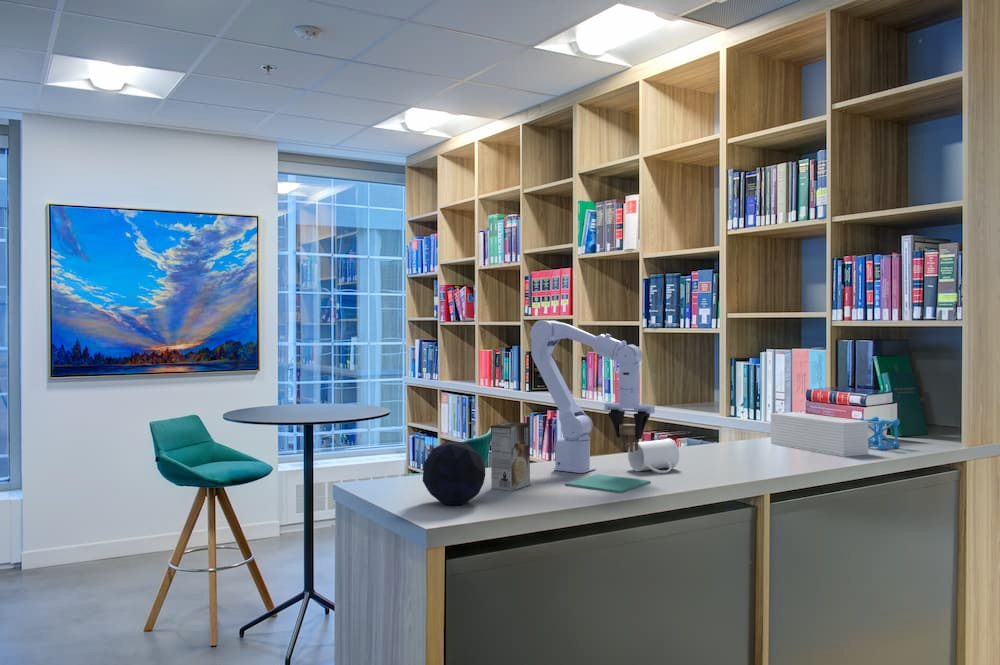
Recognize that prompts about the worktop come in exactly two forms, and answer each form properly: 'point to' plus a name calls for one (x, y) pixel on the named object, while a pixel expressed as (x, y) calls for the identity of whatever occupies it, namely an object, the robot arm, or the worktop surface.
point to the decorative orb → (454, 473)
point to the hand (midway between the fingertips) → (629, 438)
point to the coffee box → (510, 456)
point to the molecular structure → (879, 433)
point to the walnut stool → (628, 430)
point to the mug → (654, 455)
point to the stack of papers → (820, 433)
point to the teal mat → (608, 483)
